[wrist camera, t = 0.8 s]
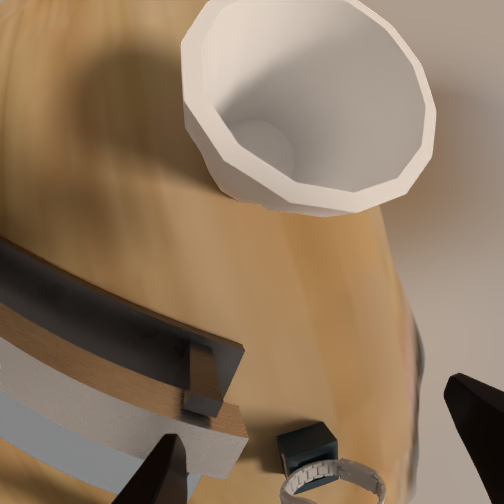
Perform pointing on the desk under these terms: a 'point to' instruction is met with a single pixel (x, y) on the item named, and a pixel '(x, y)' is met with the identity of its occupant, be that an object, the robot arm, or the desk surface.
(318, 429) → the watch
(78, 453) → the mat
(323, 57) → the foam cup
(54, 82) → the desk surface
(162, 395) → the rail
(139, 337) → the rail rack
